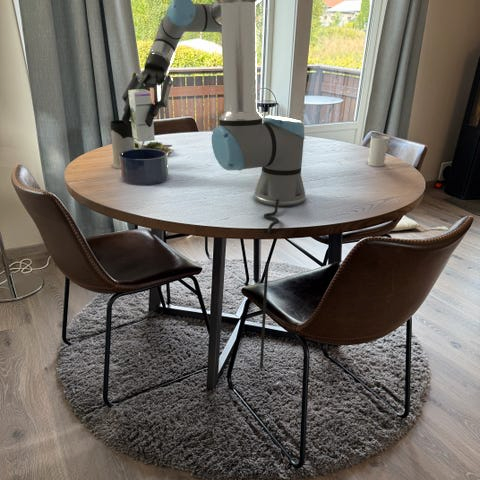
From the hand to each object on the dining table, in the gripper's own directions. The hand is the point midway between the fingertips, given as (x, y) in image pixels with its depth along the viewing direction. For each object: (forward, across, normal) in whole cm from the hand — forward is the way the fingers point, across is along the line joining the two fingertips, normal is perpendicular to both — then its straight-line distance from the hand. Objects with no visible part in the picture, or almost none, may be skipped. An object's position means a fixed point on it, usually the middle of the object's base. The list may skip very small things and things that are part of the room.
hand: (136, 122), depth 154 cm
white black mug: (+1, +14, -25) cm, 29 cm away
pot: (+11, 0, -15) cm, 19 cm away
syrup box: (+2, 0, -6) cm, 7 cm away
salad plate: (-11, +18, -37) cm, 42 cm away
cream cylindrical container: (-29, -67, -55) cm, 92 cm away
